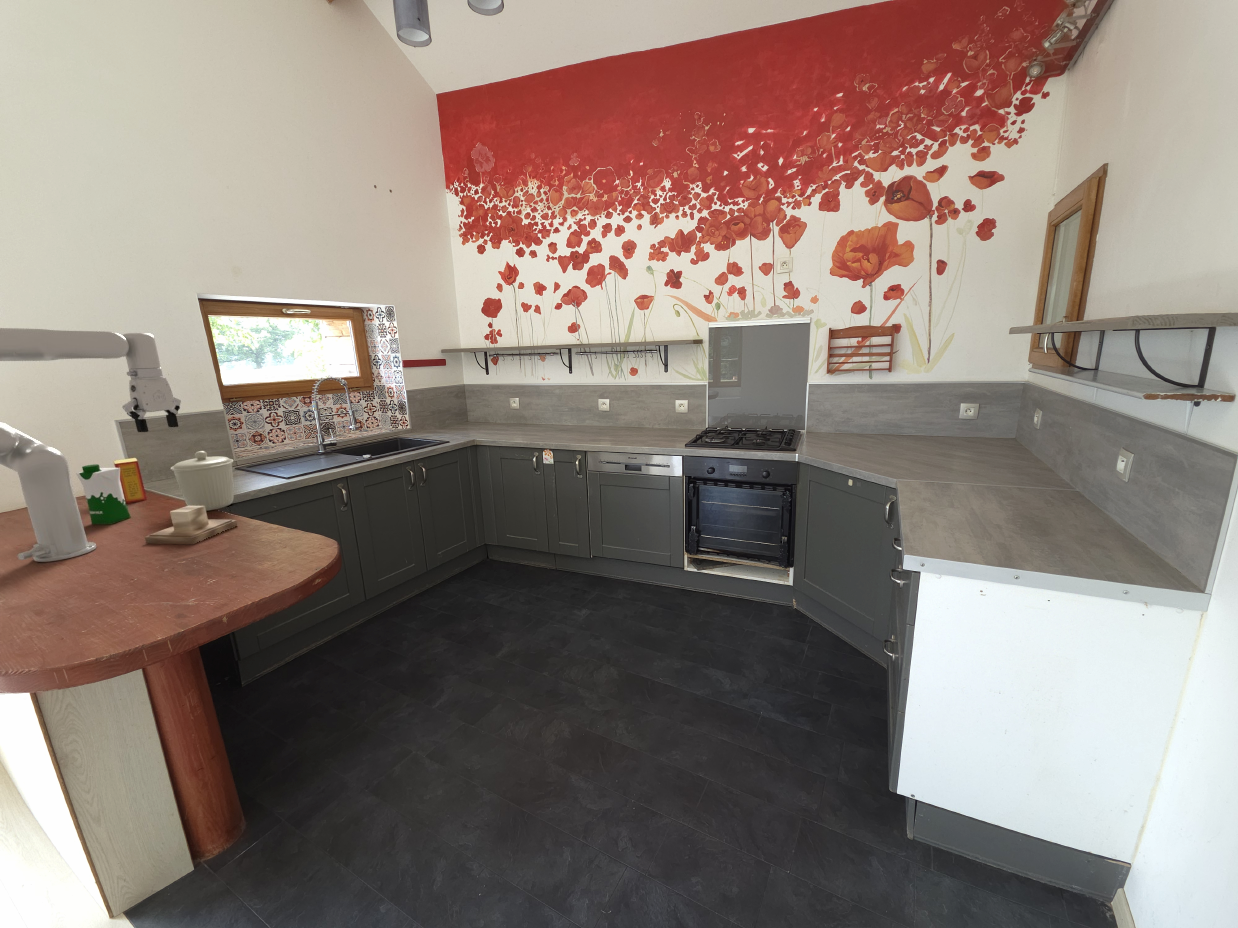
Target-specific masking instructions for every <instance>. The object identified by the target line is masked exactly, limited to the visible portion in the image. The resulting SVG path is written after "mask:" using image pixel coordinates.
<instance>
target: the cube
mask: <svg viewBox="0 0 1238 928" xmlns="http://www.w3.org/2000/svg"><path fill="white" fill-rule="evenodd" d="M169 514H170V518H171V522H172V525H173V527H174V530H189V531H192V530H194V529H197V528H200V527H202V526H205V525H207V524H209V523H208V519H209V518H208V515H207V511H206V509H205V506H187V505H186V506H183V507H180V508H176V509H173V510H170V511H169Z"/></svg>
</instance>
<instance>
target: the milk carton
mask: <svg viewBox="0 0 1238 928" xmlns="http://www.w3.org/2000/svg"><path fill="white" fill-rule="evenodd" d="M81 468H82V471H80V472H76V476H77V478H78V479H79V482H80V483H81V485H82V487H83V491H84V495H85V500H86V503H87V506H88V511H89V516H90V522H91V525H113V524H115V523H118V522H122V521H124V520H128V519H131V518H132V516H131V514H130V512H129V509H128V505H127V503H126V502H125V498H124V494H123V490H122V486H121V482H120V468H115V467H100V465H99V464H96V463H95V464H88V465H83V466H82V467H81Z"/></svg>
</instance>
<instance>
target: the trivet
mask: <svg viewBox="0 0 1238 928" xmlns="http://www.w3.org/2000/svg"><path fill="white" fill-rule="evenodd" d="M208 523H209V524H207V525H205V526H202V527H200V528H197V529H194V530H192V531H189V530H174V527H173V526H170V527H168V528H164V529H162V530H159V531H155V532H153V533H151V534H149V535H146V536H144V540H145V544H159V545H160V544H164V545H167V544H169V545H170V544H171V545H195V544H197V542H198V543H200V542H202V541H205V540H207V539H209V538H208V537H210V538H212V537H214V536H213V535H215V536H216V534H217V533H219V534H222V533H223V532H222V531H224V532H226V531H225V530H227V529H229V530H231V529H230V528H232V527H234V528H236V527H235V526H237V525H238V520H237V519H209V518H208ZM237 527H238V526H237ZM232 529H233V528H232ZM227 531H228V530H227ZM221 532H222V533H221ZM217 535H218V534H217ZM211 536H212V537H211ZM206 538H207V539H206ZM204 539H205V540H204ZM199 541H200V542H199Z"/></svg>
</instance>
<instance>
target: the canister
mask: <svg viewBox="0 0 1238 928" xmlns="http://www.w3.org/2000/svg"><path fill="white" fill-rule="evenodd" d="M194 457H195V458H190V459H187V460H182V461H179V462H177V463H175V464H174V465H173V466H171V467H170V470H171V471H172V472H173V473H174V477H175V479H176V482H177V484H178V488H179V490H180V492H181V494H182V497H183V499H184V502H185V504H186V506H205V509H206V512H207V511H208V512H209V511H215V510H218V509H222V508H226V507H228V506H230V505H231V504H232V503H233V501H234V499H235V497H234V496H235V495H234V494H235V493H234V491H235V490H234V475H233V463H234V461H235V460H234V459H232V458H229V457H227V456H220V455H219V456H216V455H215V456H208V453H207V452H206V451H205V450H199V451H196V452H195V453H194Z"/></svg>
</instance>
